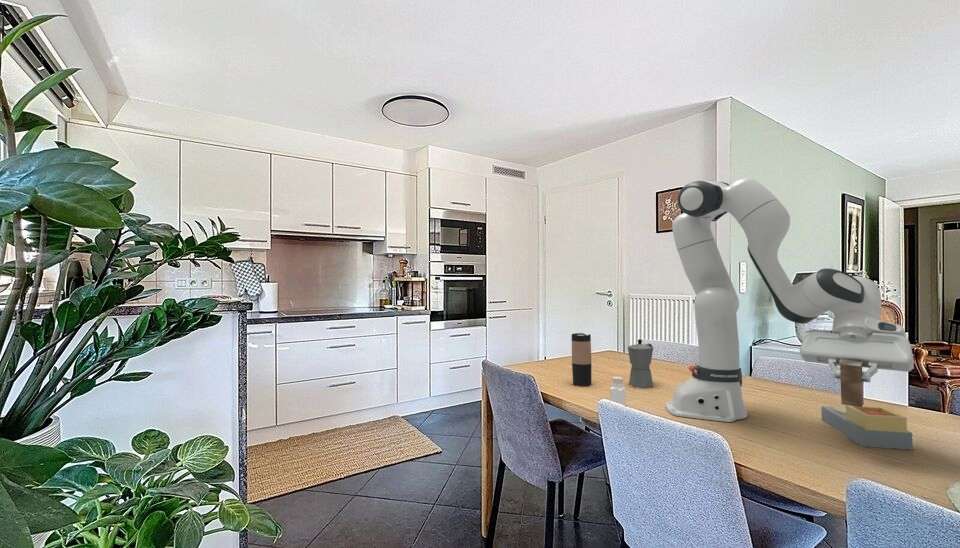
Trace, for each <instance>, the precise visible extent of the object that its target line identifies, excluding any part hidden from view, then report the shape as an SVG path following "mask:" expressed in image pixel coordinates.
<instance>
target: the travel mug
mask: <svg viewBox="0 0 960 548" xmlns="http://www.w3.org/2000/svg"><path fill="white" fill-rule="evenodd" d="M591 341H592V338H591V334H586V333H583V332H576V333H571V370H572V371H571V372H572V384H573V386H576V385H578V386H577V387H590V386H592V342H591ZM589 385H590V386H589Z"/></svg>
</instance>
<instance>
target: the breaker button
mask: <svg viewBox="0 0 960 548" xmlns="http://www.w3.org/2000/svg"><path fill="white" fill-rule="evenodd" d="M864 413H866V414H868V415H884V416H886V415H885V414H884V413H881V412H876V411H864Z"/></svg>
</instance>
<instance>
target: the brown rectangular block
mask: <svg viewBox="0 0 960 548" xmlns="http://www.w3.org/2000/svg"><path fill="white" fill-rule="evenodd" d="M839 369H840V378H841V379H840V398H841V399H840V400H841V403H840V404H841V405H844V406H846V405H850V406H857V407H862V406H864V404H865V403H864V401H865V400H864V382H862V381H861V371H862V372H863V367H862V360H851V359H841V360H840V365H839Z"/></svg>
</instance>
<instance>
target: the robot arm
mask: <svg viewBox="0 0 960 548" xmlns="http://www.w3.org/2000/svg"><path fill="white" fill-rule="evenodd" d="M677 206H678V209H680V211H681V212H682V213H681V214H679V215H678V216H676V217H675V218H674V220H673V221H672V224H671V225H672V226H671V228H672V235H673V239H674V242H675V247H676V250H677V254H678V256H679V258H680V262H681V264H682V268H683V271H684V273H685V275H686V277H687V279H688V281H689V283H690V284H691V287H692V289H693V291H694V294H695V298H694V301H693V302H694V303H693V307H694V316H695V317H694V319H695V328H696V334H697V335H696V336H697V342H698V343H697V345H698V349H697V350H698V364H697V365H696V366H695V365H694V364H689V365H688V367H687V368H688V370H689V372H691V377H690V378H689V379H686V380H685V381H684V382H682V383H681V384H679V385H677V387H676V388H675V389H674V391H673V396H672V400H668V401H667V402H666V403H665V409H666V411H667V412H668V413H669V414H671V415H673V416H676V417H683V418H689V419H690V418H692V419H699V420H707V421H717V422H724V423H733V422H735V421H736V420H742V419H745V418H747V417H748V415H749V414H748V412H747V410H746V405H745V402H744V398H743V392H742V387H743V372H742V368H741V366H740V339H739V331H738V330H739V329H738V318H737V312H738V310H739V308H740V299H739V297H738V294H737V292H736V288H735V287H734V284H733V282H732V280H731V278H730V275H729V272H728V271H727V268H726V266H725V264H724V261H723V258H722V256H721V254H720V250H719V248H718V245H717V242H716V239H715V237H714V235H713V232H712V229H711V225H712V222H716V221H718V220H719V219H721V217H723V216H725V214H730V215H731V216H732V217H733V218H734V219H735V221H736V222H737V223H738V224H739V226H740V227H741V229H742V230H743V232H744V234H745V237H746V239H747V253H748V255H749V257H750V260H751V261H752V262H753V263H752V264H754V265H753V266H755V268H756V270H757V272H758V273H759V275H760V277H761V278H762V280H763V282H764V283H765V286H766V288H767V289H768V290H769V292H770V294H771V296H772V299H773V302H774V305H775V308H776V310H777V312H778V313H779V314H780V315H781V317H783V318H785V319H786V320H787V321H790V322H792V323H796V324H801V325H803V324H808V323H810V322H812V321H814V320H815V319H816V318H818V317H820V316H821V315H823V314H825V313H827V312H831V313H833V314H834V317H833V320H832V329H831V330H830V329H828V330H827V329H820V330H819V329H809V330H806V331H803V333H802V335H801V345H800V349H799V354H800V357H801V359H802V360H803V361H804V362H807V363H817V364H827V365H828V367H830V370H831V371H832V376H833V379H837V380H838V379H839V380H841V378H840V368H837V367H838V366H840V360H841V359H851V360H862V368H867V370H866V371H863V370H862V371H861V381H862V382H863V383H871V378H872V377H873V376H875V374H877V373H878V372H879V371H878V370H888V371H897V372H899V371H900V372H906V373H907V372H911V371H912V370H914V368H915V365H914V364H915V363H914V354H913V350H912V346H911V343H910V340H909V338H907V335H906V331H905V328H904V327H903V326H902V325H900V324H897V323H892V322H888V321H884V320H883V321H882V320H881V319H880V318H879V317H880V315H881V314H882V295H881V292H880V289H879V287H878V286H877V283H875V282H874V281H873V280H871V279H870V278H867V277H864V276H857V275H856V276H855V275H853V276H852V275H851V274H849V273H847V272H844V271H842V270H839V269H835V268H828V267H827V268H821V269H820V270H817V271H815V272H814V273H812V274H810V275H808V276H807V277H805V278H804V279H803V280H801V281H799V282H797V283H796V284H793V282H792V281H791V280H790V278H789V277H788V275H787V274H786V271H785V270H784V268H783V266H782V264H780V262H779V258H778V252H779V248H780V246H781V245H782V242H783V240H784V239H785V237H786V235H787V233H788V231H789V230H790V225H791V216H790V213H789V211H788V209H786V207H785V206H784V205H783V204H782V202H780V200H779V199H778V198H777V197H776V196H775V195H774V194H773V193H772V192H771V191H770V190H769V189H768V188H767V187H766V186H764V185H763V184H762V183H760V182H759V181H758V180H756V179H754V178H752V177H744V178H739V179H737V180H735V181H734V182H732V183H731V184H729V183H728V182H727V183H726V182H725V181H717V180H711V179H710V180H696V181H692V182H689V183H688V184H685V185H684V186H682V188H681V190H680V191H679V192H678V195H677Z"/></svg>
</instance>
